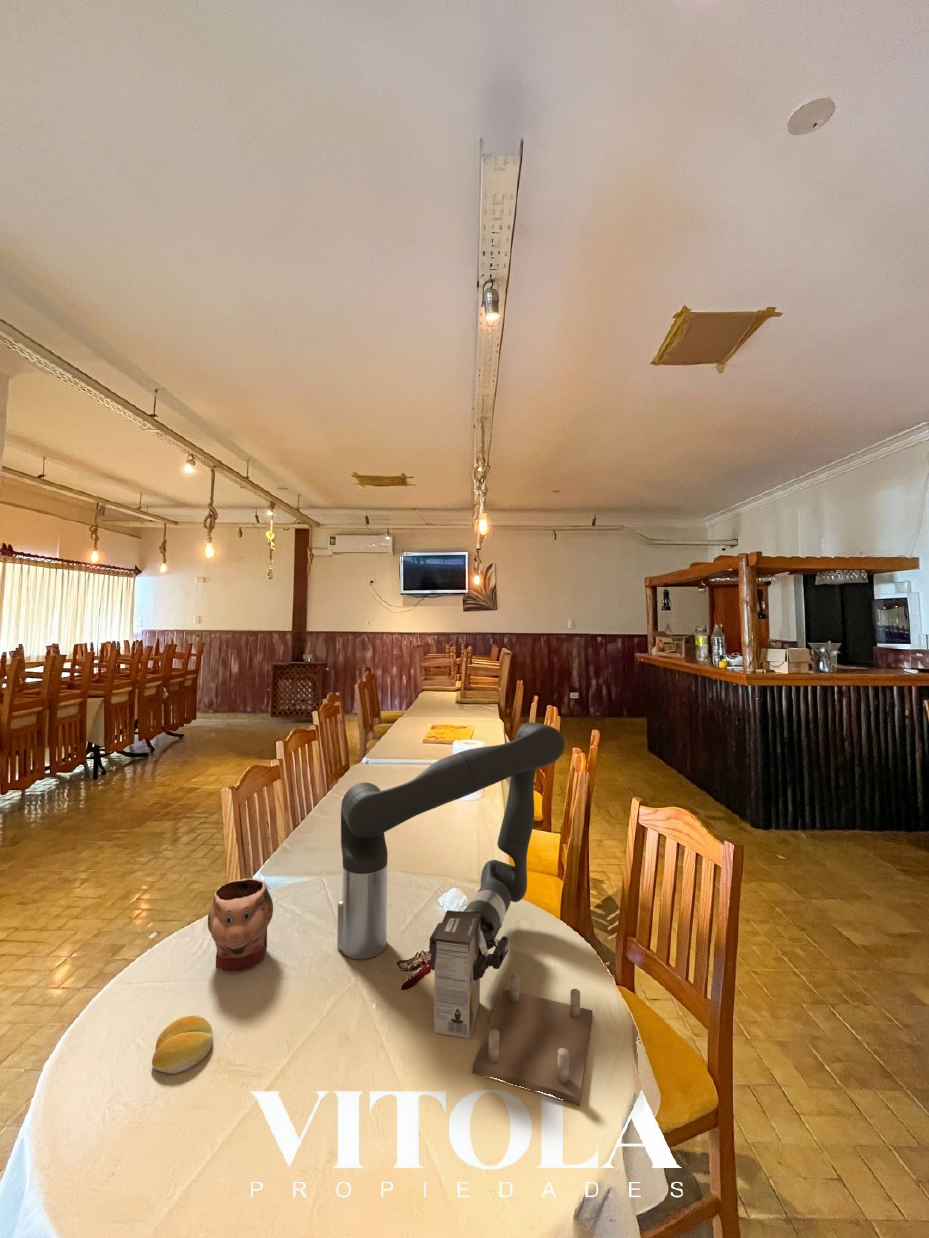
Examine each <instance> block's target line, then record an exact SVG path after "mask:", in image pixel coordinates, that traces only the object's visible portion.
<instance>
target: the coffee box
mask: <svg viewBox="0 0 929 1238" xmlns="http://www.w3.org/2000/svg"><path fill="white" fill-rule="evenodd" d="M480 917H481V914H480V913H470V912H464V911H461V910H459V911H458V910H451V909H450V910H446V912H445V914H444V917H443V919H442V921H441V922H440V923H441V926H440V928H439V930H438V932H437V935H436V937H435V970H434V984H433V985H434V993H433V996H434V1000H433V1001H434V1004H433V1005H434V1006H433V1008H434V1009H433V1015H434V1016H433V1033H435V1034H438V1035H439V1034H441V1035H446V1036H453V1037H459V1038H464V1039H470V1038H471V1035H472V1032H473V1027H474V1025H475V1020H476V1016H477V1012H478V1008H479V1004H480V1001H481V1000H480V999H481V994H480V993H481V991H480V990H481V988H480V987H481V980H480V979H481V978H479V979H478V981H475V980H473V968H474V965H475V963H476V961H477V959H478V957H479V946H480Z"/></svg>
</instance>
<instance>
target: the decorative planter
mask: <svg viewBox="0 0 929 1238" xmlns="http://www.w3.org/2000/svg"><path fill="white" fill-rule="evenodd" d="M273 915H274V903H273V899H272V896H271V894H270V893H269V890H268V888H267V884H266V883H265V882H264V881H263V880H262V879H259V878H245V877H244V878H242V879H236V880H231V881H229V882H226V883H224V884H221V885H220V886H219V887H218V888H217V889H216V890H215V891H214V894H213V898H212V904H211V905H210V907H209V910H208V913H207V929H208V931H209V933H210V934H211V937H212V940H213V941H214V943H215V946H216V954H215V968H216V969H218V970H219V971H220V972H222V973H223V972H224V973H239V972H243V971H247V970H250V969H252V968H255V967H256V966H258V965H259V964H261V963H262V962H263V960H264V959H265V957H266V954H267V950H268V927H269V924H270V923H271V922H272V921H271V920H272V918H273Z"/></svg>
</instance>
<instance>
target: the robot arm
mask: <svg viewBox="0 0 929 1238" xmlns="http://www.w3.org/2000/svg"><path fill="white" fill-rule="evenodd" d="M565 743H566V742H565V738H564V736H563V734H562V733H561V732H560V731H559V730H558V729H556V728H555V727H553V726H551V725H549V724H544V723H539V722H534V721H532V722H526V723H524V724H522V725H521V726H520V727H519V728H518V729H517V732H516V734H515V737H514V739H513V740H511V741H508V742H505V743H502V744H496V745H489V746H482V747H475V748H471V749H466V750H462V751H460V752H459V751H458V752H457V753H454V754H451V755H448V756H446V757H443V758H441V759H439V760H437V761H435V762H434V763H432V764H431V765H429V767H427V768H426V769H424V770H423V771H422V772H421V773H419V774H418V775H417V776H415V777H413V778H412V779H411V780H409V781H408V782H405V783H403V784H400V785H397V786H393V787H390V788H388V789H383V790H381V789H380V787H378V786H377V785H375V784H374V783H371V782H365V781H364V782H360V783H356V784H354V785H353V786H351V787H350V788H349V789H348V790H347V791H346V793H345V794H344V796H343V798H342V800H341V807H340V846H341V847H340V849H341V856H342V872H341V873H342V877H341V878H342V879H341V880H342V881H341V884H342V885H341V887H342V894H341V896H342V897H341V900H339V902H338V903H337V937H336V939H337V941H336V942H337V944H336V946H337V947H336V948H337V950H339V951H341V952H342V953H343V954H344V955H345V956H346V957H348V958H350V959H353V960H367V959H371V958H374V957H376V956H378V955H380V954H381V953H383V951H384V950H385V949H386V947H387V937H388V936H387V926H388V925H387V921H388V919H387V917H388V916H387V915H388V913H387V912H388V907H387V906H388V857H389V856H388V847H387V843H386V842H387V841H386V836H385V833H387V832H388V831H390V830H392V829H394V828H396V827H397V826H399V825H401V824H403V823H405V822H406V821H409V820H410V819H412V818H414V817H416V816H419V815H420V814H421V815H422V814H423V813H426V812H429V811H431V810H433V809H437V808H439V807H441V806H444V805H446V804H449V803H451V802H454V801H457V800H460V799H462V798H464V797H467V796H469V795H471V794H474V793H477V792H479V791H481V790H483V789H485V788H488V787H490V786H492V785H495V784H497V783H499V782H502V781H504V780H507V779H508V778H510V780H509V788H508V795H507V800H506V805H505V811H504V815H503V818H502V821H501V826H500V831H499V834H498V838H497V847H498V849H499V850H500V851H501V852H503V853H504V854H506V855H508V856H509V857H510V858H511V859H512V861H513V865H512V864H509V863H505V862H503V861H500V860H497V859H491V860H489V861H487V862H486V863H485V864H484V866H483V868H482V871H481V876H480V886H479V889H478V890H477V892H476V894H475V895H474V896H473V897H472V898H471V899H470V901H469V902H468V904H467V906H466V907H465V909H464V910H463V912H470V913H480V914H481V917H480V946H479V957H478V959H477V961H476V963H475V965H474V968H473V980H475V981H478V979H479V978H480V979H482V978H483V977H484V975H485V973H486V970H487V969H489V967H492V969H494V970H499V969H500V967H501V966H502V963H503V961H504V960H505V958H506V956H507V954H508V952H509V937H508V936H506V935H505V936H502V937H500V939H499V938H497V936H498V934H499V932H500V930H501V928H502V926H503V923H504V920H505V916H506V914H507V912H508V909H509V908H510V905H511V902H512V903H518V902H520V901H521V900H522V899H524V897H525V895H526V893H527V890H528V871H527V869H528V866H527V865H528V864H527V862H528V860H527V859H528V858H527V857H528V850H529V845H530V841H531V837H532V832H533V828H534V822H535V796H534V795H535V794H534V793H535V790H534V789H535V780H536V779H535V778H536V773H537V770H538V769H540V768H542V767H543V768H544V767H546V766H550V765H552V764H553V763H555V762H557V761H558V760H559V758H560V757H561V756H562V754H563V753H564V750H565ZM441 923H442V922H439V923H437V924H436V927H435V929H434V930H433V932H432V934H431V935H430V937H429V947H428V948H429V949H428V951H429V954H430V964H429V966H430V967H431V970H432V971H435V937H436V935H437V932H438V930H439V928H440V926H441ZM493 948H494V950H493V952H492V953H490V952H489V950H492V949H493Z"/></svg>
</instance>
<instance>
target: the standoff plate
mask: <svg viewBox="0 0 929 1238" xmlns="http://www.w3.org/2000/svg"><path fill="white" fill-rule="evenodd" d="M520 979H521V978H520V976H519V975H518V974H511V975H510V985H509V987H510V989H507V988H502V990H501V993H500V995H499V998H498V1000H497V1003H496V1006H495V1007H494V1010H493V1013H492V1014H491V1018H490V1020H489V1022H488V1025H487V1028H486V1030H485V1033H484V1035H483V1038H482V1040H481V1044H480V1046H479V1047H478V1050H477V1053H476V1056H475V1059H474V1060H473V1063H472V1074H474V1075H476V1076H477V1075H478V1076H480V1077H483V1076H487V1077H493V1078H497V1079H500V1080H503V1081H505V1082H507V1083H510V1084H513V1085H517V1086H521V1087H524V1088H527V1089H530V1090H532V1091H531V1092H533V1091H540V1092H543V1093H546V1094H551V1095H553V1096H555V1097H557V1098H560V1099H563V1102H566V1103H569V1104H572V1105H576V1106H580V1105H581V1098H582V1092H583V1084H584V1078H585V1071H586V1064H587V1063H586V1062H587V1056H588V1051H589V1050H588V1049H589V1043H590V1038H591V1037H590V1035H591V1029H592V1021H593V1009H589V1008H584V1007H581V991H580V990H579V989H577V988H572V989H570V1004H568V1003H564V1002H561V1001H556V1000H552V999H548V998H543V997H540V996H535V995H532V994H527V993H523V992H520ZM487 1077H486V1078H487ZM510 1084H509V1085H510ZM513 1085H512V1086H513Z"/></svg>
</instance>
